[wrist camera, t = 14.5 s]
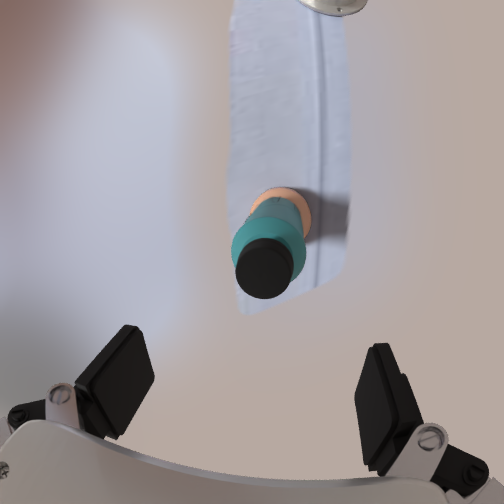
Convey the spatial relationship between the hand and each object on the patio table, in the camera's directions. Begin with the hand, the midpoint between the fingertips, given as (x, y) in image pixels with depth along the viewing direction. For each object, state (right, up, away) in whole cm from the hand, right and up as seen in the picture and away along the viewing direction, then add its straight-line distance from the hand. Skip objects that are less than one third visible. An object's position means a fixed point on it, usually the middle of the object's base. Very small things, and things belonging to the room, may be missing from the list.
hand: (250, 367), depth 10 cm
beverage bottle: (+4, +9, +27) cm, 29 cm away
